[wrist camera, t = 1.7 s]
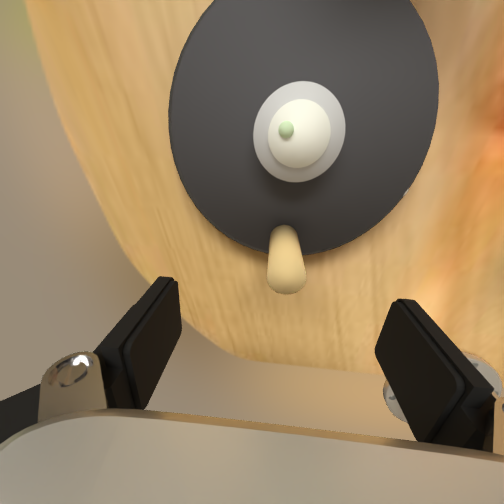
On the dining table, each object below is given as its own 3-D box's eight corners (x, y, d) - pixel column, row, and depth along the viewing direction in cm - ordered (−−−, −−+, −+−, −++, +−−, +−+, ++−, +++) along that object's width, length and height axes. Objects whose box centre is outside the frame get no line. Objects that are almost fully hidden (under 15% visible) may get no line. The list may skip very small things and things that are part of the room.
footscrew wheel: (472, 148, 18) (619, 149, 10) (277, 282, 24) (277, 344, 17) (326, -125, 13) (393, -497, 6) (133, 127, 20) (40, 114, 12)
